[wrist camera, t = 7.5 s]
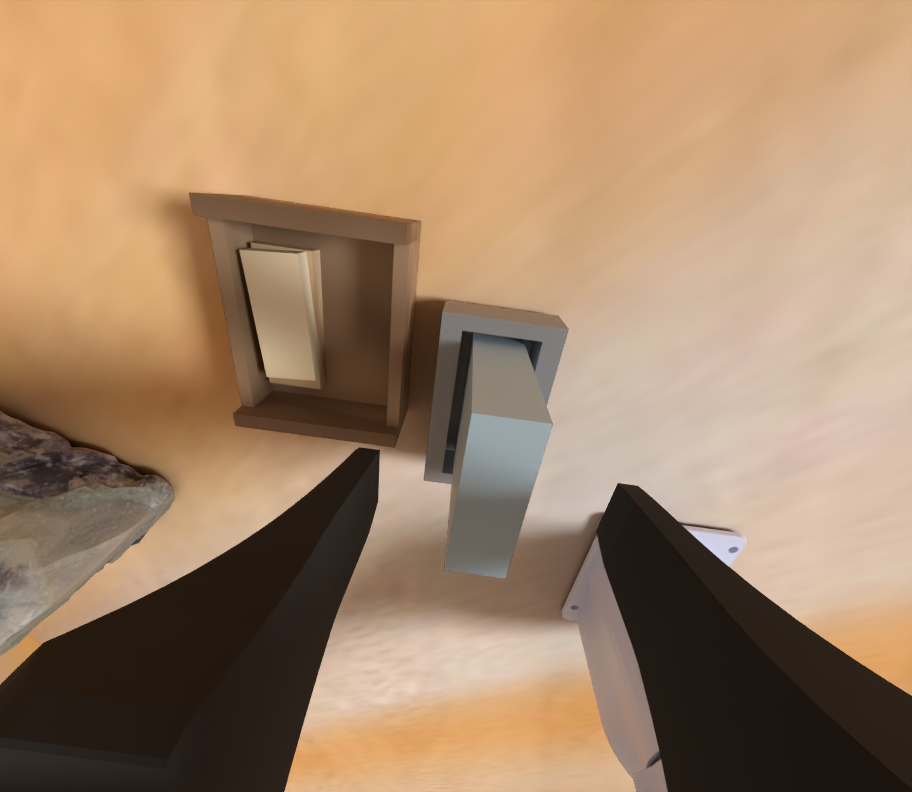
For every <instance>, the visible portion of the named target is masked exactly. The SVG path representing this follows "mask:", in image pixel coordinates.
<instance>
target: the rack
mask: <svg viewBox="0 0 912 792" xmlns="http://www.w3.org/2000/svg"><path fill="white" fill-rule="evenodd" d="M189 196H190V201H191V206H192V211H193V215H197V216H204V217H207V220H208V226H209V231H210V237H211V242H212V247H213V253H214V258H215V264H216V269H217V274H218V280H219V285H220V291H221V296H222V302H223V307H224V312H225V318H226V323H227V329H228V334H229V339H230V345H231V350H232V356H233V361H234V367H235V372H236V377H237V383H238V388H239V394H240V399H241V404H242V406H241V407H240V408H239V409H238V410H237V411H236V412H234V413H233V415H234V420H235V425H236V426H240V427H248V428H255V429H262V430H270V431H277V432H285V433H292V434H300V435H307V436H314V437H322V438H329V439H337V440H344V441H351V442H359V443H366V444H374V445H381V446H388V447H395V445H396V442H397V439H398V436H399V433H400V430H401V427H402V425H403V422H404V419H405V416H406V413H407V406H408V393H409V379H410V366H411V352H412V338H413V325H414V311H415V297H416V284H417V270H418V256H419V243H420V229H421V221H417V220H410V219H403V218H397V217H390V216H383V215H376V214H369V213H362V212H355V211H348V210H342V209H335V208H328V207H321V206H314V205H307V204H300V203H293V202H287V201H280V200H273V199H266V198H259V197H252V196H244V195H225V194H205V193H189ZM257 241H266V242H273V243H280V244H287V245H294V246H301V247H308V248H315V249H320V263H321V283H322V302H323V322H324V342H325V361H326V381H327V382H326V384H325V385H324V386H323V387H322V388H321V389H314V388H307V387H299V386H292V385H285V384H278V383H270V381H269V377H267V376H266V371H265V367H264V362H263V357H262V353H261V348H260V343H259V339H258V334H257V330H256V325H255V320H254V316H253V311H252V306H251V302H250V297H249V292H248V288H247V283H246V278H245V274H244V269H243V264H242V260H241V255H240V251H239V250H241V249H246V248H251V242H257Z"/></svg>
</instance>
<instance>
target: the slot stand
mask: <svg viewBox="0 0 912 792" xmlns="http://www.w3.org/2000/svg"><path fill="white" fill-rule="evenodd" d="M568 330H569V329H568V328H567V327H566V325H565V324H564V323H563V321H562V320H561V319H560V317H559V316H556V315H549V314H542V313H535V312H528V311H521V310H514V309H507V308H500V307H493V306H486V305H478V304H471V303H464V302H457V301H450V300H446V302H445V305H444V308H443V311H442V320H441V329H440V338H439V347H438V356H437V365H436V374H435V383H434V392H433V401H432V410H431V419H430V428H429V437H428V446H427V455H426V464H425V473H424V481H431V482H439V483H446V484H452V476H453V465H454V454H455V443H456V436H457V430H458V424H459V417H460V411H461V404H462V398H463V392H464V385H465V379H466V373H467V366H468V360H469V353H470V347H471V341H472V334H473V332H476V333H483V334H490V335H497V336H504V337H511V338H518V339H523V341H524V344H525V347H526V349H527V352H528V355H529V358H530V361H531V364H532V366H533V369H534V372H535V375H536V378H537V380H538V383H539V386H540V389H541V392H542V395H543V397H544V400H545V403H546V406H547V402H548V399H549V395H550V392H551V388H552V385H553V382H554V378H555V375H556V371H557V368H558V364H559V361H560V357H561V354H562V350H563V347H564V344H565V340H566V337H567V333H568Z"/></svg>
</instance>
